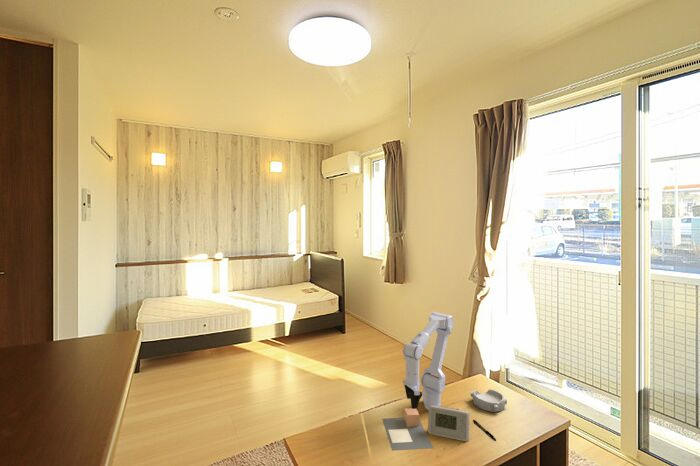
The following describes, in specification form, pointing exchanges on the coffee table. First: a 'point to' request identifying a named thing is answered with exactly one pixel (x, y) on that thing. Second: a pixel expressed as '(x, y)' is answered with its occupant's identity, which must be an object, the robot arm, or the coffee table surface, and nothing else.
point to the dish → (489, 400)
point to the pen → (484, 430)
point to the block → (411, 417)
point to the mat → (405, 435)
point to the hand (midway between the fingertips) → (411, 403)
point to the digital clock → (448, 422)
